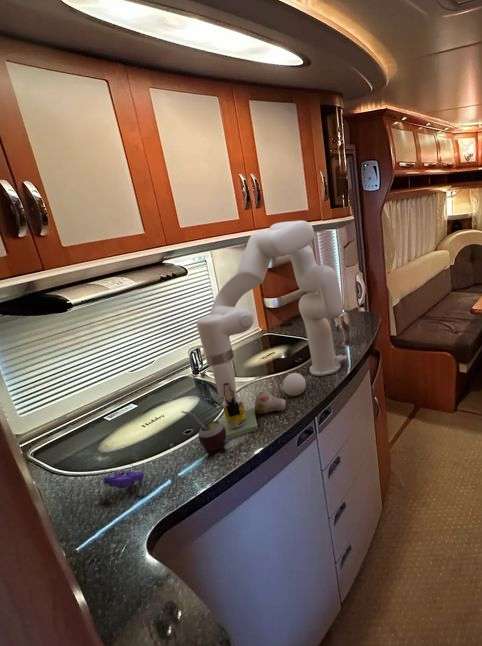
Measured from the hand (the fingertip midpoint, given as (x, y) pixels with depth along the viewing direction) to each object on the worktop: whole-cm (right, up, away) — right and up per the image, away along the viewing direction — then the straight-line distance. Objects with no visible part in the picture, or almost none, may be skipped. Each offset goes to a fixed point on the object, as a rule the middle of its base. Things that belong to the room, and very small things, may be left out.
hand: (234, 409), depth 115 cm
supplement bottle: (+1, -5, +1) cm, 5 cm away
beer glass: (+30, +15, +59) cm, 68 cm away
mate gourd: (-3, -10, -8) cm, 13 cm away
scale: (0, -6, +4) cm, 7 cm away
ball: (+15, 0, +19) cm, 24 cm away
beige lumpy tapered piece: (+9, -3, +10) cm, 14 cm away
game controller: (-20, -16, -20) cm, 32 cm away
